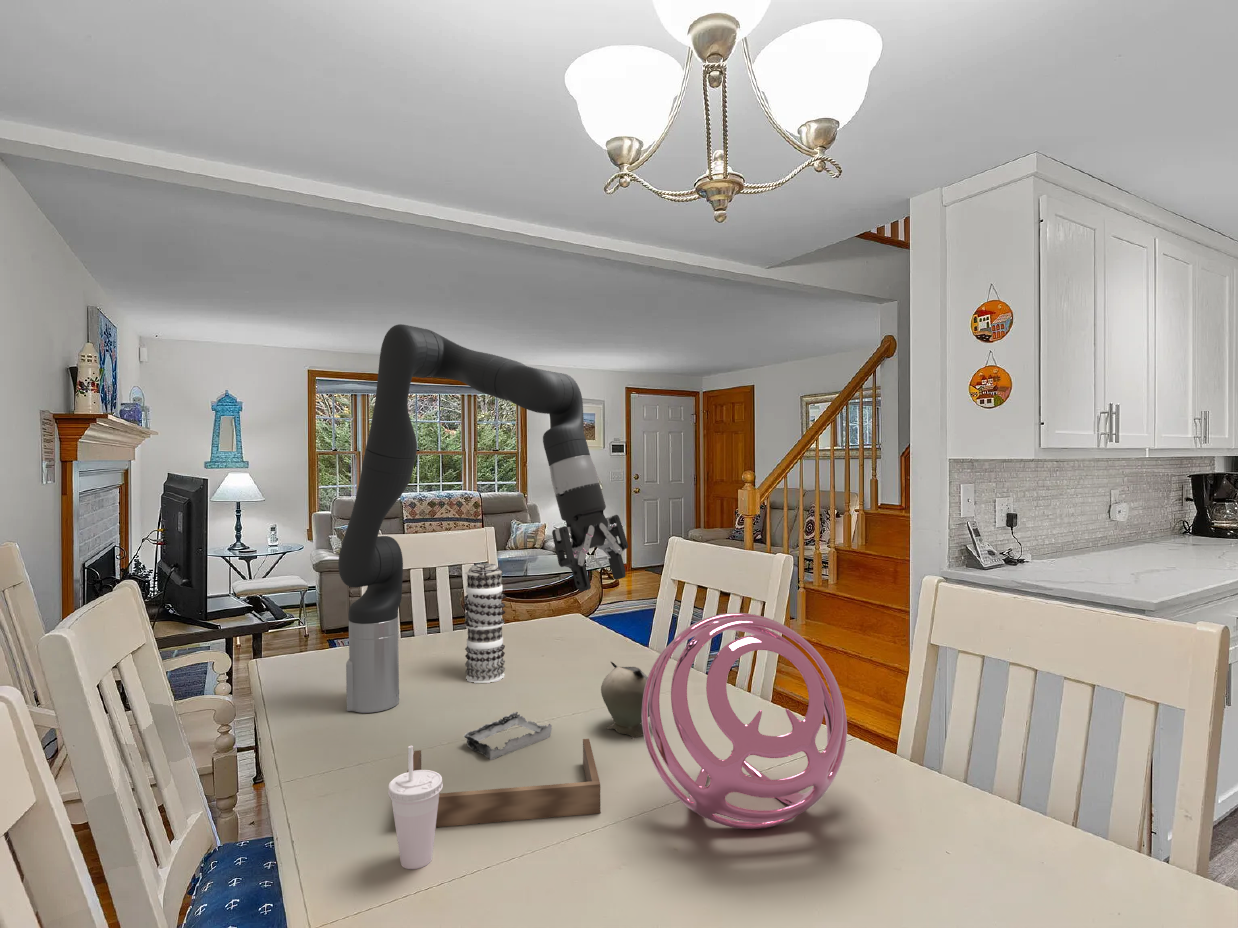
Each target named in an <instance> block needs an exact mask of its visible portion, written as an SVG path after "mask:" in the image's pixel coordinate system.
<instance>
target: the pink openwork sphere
mask: <svg viewBox="0 0 1238 928" xmlns="http://www.w3.org/2000/svg"><path fill="white" fill-rule="evenodd" d="M725 631H737V632H743V633H747V634H751V635H744V636H742V637H739V638H736V639H734V640H732V641H730V642H728V643H727V644H726V645H725V646H723V647H722V648H721V649H720V650H719V651H718V652H717V654H716V655H715V657H714V658H713V659H712V661H711V664H710V666H709V669H708V672H707V677H706V687H705V688H706V699H707V703H708V707H709V711H710V712H711V715H712V717H713V719H714V721H715V723H716V725H717V727H719V729H720V731H721V732H722V733H723V734H724V736H725V737H726V738H727V739H728V740H729V741H730V742H731V743H732V744H731V745H732V747H733V748H732V750H731V753H730V755H729V756H728V757H727V758H725V759H720V758H718V757H717V756H716V754H714V753H713V751H712V750H711V749H709V747H708V746H707V745H706V743H705V741H704V740H703V739H702V738H701V736H700V734H699V733H698V731H697V729H696V727H695V724H694V721H693V719H692V716H691V715H692V714H691V712H690V709H689V708H690V707H689V702H688V681H689V677H690V671H691V668H692V666H693V663H694V661H695V659H696V657H697V655H698V654H699V652H700V651H701V650H702V648H703V647H704V646H705V645H706V644H707V643H708V642H709V641H711V640H712V639H713V638H714V637H716V636H717V635H719V634H721V633H723V632H725ZM774 631H775V632H774ZM776 632H777V633H776ZM778 633H779V634H778ZM780 634H782V635H784V636H786V637H787V638H789V639H791V640H792V641H794V642H795V643H796V644H798V645H799V646H800V647H801V648H803V650H805V652H807V653H808V654H809V656H810V657H811V658H812V659H813V661H815V663H816V665H817V666H818V668H819V669H820V670H821V673H822V674H823V676H824V678H825V680H826V683H827V685H828V688H827V686H826V684H825V682H824V680H823V678H822V676H821V674H820V673H819V672H818V670H817V669H816V666H814V665H813V663H812V662H811V661H810V659H808V657H807V656H806V654H804V653H803V652H802V651H801V650H800V649H799V648H798V647H796V645H794V644H793V642H792V643H791V642H790V641H789V640H787V639H786V638H785V637H784V636H782V635H780ZM690 639H691V640H690ZM689 640H690V641H689ZM687 641H688V643H687V644H686V646H685V648H684V649H683V650H682V651H681V653H680V656H679V657H678V659H677V662H676V665H675V667H674V671H673V675H672V680H671V688H670V690H671V691H670V699H671V700H670V701H671V703H670V704H671V712H672V716H673V720H674V724H675V727H676V730H677V732H678V734H679V737H680V739H681V741H682V743H683V745H684V747H685V749H686V750H687V751H688V753H689V754H690V756H691V757H692V758H693V760H694V761H695V762H696V763H697V765H699V766H700V767H699V768H701V769H700V771H699V773H698V775H697V777H696V778H695V780H694V779H693V778H692V777H691V776H690V775H689V774H688V773H687V772H686V771H685V769H684V768H683V767H682V765H681V763H680V762H679V761H678V759H677V757H676V756H675V754H674V752H673V751H672V748H671V746H670V744H669V742H668V739H667V736H666V734H665V730H664V725H663V722H662V717H661V707H660V696H661V695H660V694H661V686H662V682H663V681H662V680H663V676H664V673H665V670H666V668H667V665H668V663H669V661H670V659H671V658H672V655H673V654H674V653H675V650H676V649H677V648H678V647H679V646H680V645H681V644H683V643H685V642H687ZM754 651H768V652H772V653H775V654H777V655H780V656H782V657H783V658H785V659H786V660H788V661H790V663H792V664H793V666H795V668H796V669H797V670H798V671H799V673H800V674H801V676H802V678H803V680H804V683H805V685H806V688H807V693H808V706H807V710H806V711H807V712H806V714H805V716H804V718H803V720H800V719H799V718H798V717H797V716H796V715H795V714H794V713H793V712H792V711H791V710H790V709H789V708H785V713H786V715H787V718H788V720H789V722H790V725H791V728H792V729H791V731H790V732H788V733H785V734H781V735H775V736H773V735H768V734H767V735H766V734H763V733H761V732H760V730H759V728H760V727H759V726H760V722H761V718H762V714H763V710H762V709H761V710H760V709H759V710H758V712H757V713H756V715H755V716H754V717H753V718H752V720H751V721H750V722H749V723H747V724H745V723H744V722H742V721H741V720H740V719H739V717H738V715H736V713H735V712H734V710H733V708H732V706H731V704H730V701H729V698H728V693H727V692H728V691H727V681H728V676H729V673H730V670H731V668H732V667H733V665H734V664H735V663H736V662H737V660H738V659H740V658H741V657H742V656H744V655H746V654H748V653H751V652H754ZM647 677H648V678H647V681H646V684H645V688H644V693H643V698H642V711H641V716H642V723H641V724H642V729H643V739H644V743H645V746H646V749H647V753H648V755H649V758H650V760H651V762H652V764H653V766H654V768H655V770H656V772H657V773H658V775H659V777H660V779H661V780H662V781H663V783H664V784H665V786H666V787H667V788H668V789H669V790H670V792H671V793H672V794H673V795H674V796H675V797H676V798H677V799H678V800H679V801H680V802H681V803H683V805H685V806H686V808H688V809H690V810H691V811H692V812H693V813H695V814H696V815H698V816H700V817H702V818H703V819H704V818H705V819H707V820H708V821H710V822H713V823H716V824H719V825H720V826H721V825H722V826H725V827H729V828H734V829H739V830H740V829H742V830H760V829H761V830H762V829H767V828H772V827H776V826H778V825H782V824H785V823H786V822H789V821H791V820H793V819H795V818H796V817H798V816H800V815H801V814H803V813H804V812H805V811H807V810H809V809H810V808H812V807H813V806H815V805H816V804H817V803H818V802H819V801H820V800H821V799H822V798H823V797H824V796H825V794H826V792H827V791H828V790H829V788H830V787H831V785H832V784H833V782H834V780H835V779H836V777H837V775H838V773H839V771H840V768H841V766H842V763H843V760H844V756H845V754H846V753H845V751H846V746H847V737H848V721H847V712H846V707H845V703H844V698H843V695H842V692H841V690H840V686H839V684H838V681H837V680H836V677H835V675H834V674H833V672H832V671H831V668H830V667H829V665H828V664H827V663H826V661H825V659H824V658H823V657H822V656H821V654H820V653H819V652H818V650H817V649H816V648H814V646H813V645H812V644H811V643H810V642H809V641H808V640H807V639H805V638H804V637H803V636H801V635H800V634H799V633H798V632H796V631H794V630H793V629H791V628H790V627H788V626H787V625H785V624H783V623H781V622H779V621H776V620H773V618H772V619H771V618H769V617H765V616H761V615H758V614H752V613H747V612H746V613H744V612H729V613H720V614H716V615H712V616H709V617H706V618H703V619H700V620H698V621H696V622H694V623H692V624H691V625H689V626H687V627H686V628H685V629H683V630H682V631H681V632H680V633H679V634H678V635H677V636H675V637H674V639H673V640H672V641H671V642H670V643H669V644H668V645H667V646H666V647H665V648H664V649H663V650H662V652H661V653H660V654H659V655H658V657H657V658H656V660H655V661H654V663H653V665H652V666H651V669H650V672H649V673H648V676H647ZM828 689H829V690H828ZM829 692H830V693H829ZM648 702H649V717H648ZM824 718H825V725H826V746H825V748H824V749H823V751H822V752H820V751H819V749H818V746H817V745H816V744H817V743H816V739H817V738H816V737H817V734H819V731H820V729H821V726H822V723H823V720H824ZM649 724H650V725H649ZM650 728H651V729H650ZM650 730H651V731H650ZM651 732H652V734H651ZM652 736H653V739H654V742H655V746H656V749H657V751H658V753H659V755H660V757H661V758H662V761H663V763H664V764H665V766H666V768H667V770H668V771H669V772H670V774H671V775H672V776H673V778H674V779H675V781H677V782H678V784H679V785H680V787H682V788H683V789H684V791H685V792H687V793H688V794H689V796H687V795H686V794H685V793H684V792H683V791H682V790H681V789H680V788H679V787H678V786H677V785H676V784H675V782H674V781H673V780H672V779H671V776H669V774H668V773H667V771H666V770H665V768H664V766H663V765H662V763H661V761H660V759H659V757H658V754H657V752H656V749H655V746H654V743H653V741H652V740H653V739H652ZM801 752H803V753H804V754H805V756H806V758H807V765H806V767H805V768H804V770H803V771H801V772H799V773H797V774H794V775H791V776H788V777H784V778H778V779H771V778H770V777H769V776H767V775H766V774H764V773H762V772H761V771H760V770H758V769H757V768H756V767H755V766H753V765H752V764H751V763H749V762H748V761H747V760H746V759H747V758H748V757H750V756H756V757H761V758H767V759H781V758H787V757H790V756H793V755H795V754H797V753H801ZM742 768H743V769H744V771H746V773H748V774H749V775H747V774H745V773H744V771H743V769H742ZM708 777H709V779H710V782H709V784H708V785H707V786H706V784H707V781H708ZM809 787H812V788H811V789H810V790H809V791H807V792H803V793H802V792H801V791H804V790H806V789H807V788H809ZM730 793H738V794H743V795H746V796H750V797H756V798H760V799H761V798H763V799H777V800H779V801H780V802H782V803H783V804H785V805H786V806H785V807H780V808H776V809H775V808H774V809H749V808H744V807H741V806H737V805H734V804H732V803H729V802H728V801H727V800H726V798H727V795H729V794H730Z"/></svg>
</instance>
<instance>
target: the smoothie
mask: <svg viewBox="0 0 1238 928" xmlns="http://www.w3.org/2000/svg"><path fill="white" fill-rule="evenodd" d="M407 751H408V752H407V753H408V754H407V755H408V757H407V758H408V760H407V761H408V763H407V765H408V768H407V771H409V772H403V773H401V774H399V775H397V776H395V777H394V778H393V779H392V780H391V781H390V782H389V783H388V792H387V795H388V797H389V798H390V799H391V805H392V811H393V820H394V825H395V827H394V828H395V833H396V841H397V847H398V854H399V860H400V865H401V867H403V869H406V870H419V869H421V868H424V867H425V866H428V865H429V864H430V863H431V862H432V859H433V853H434V846H435V845H434V844H435V837H436V835H435V834H436V828H437V827H436V819H437V810H438V802H439V793H440V792H441V791H442V790H443V787H444V786H443V777H442V775H441V774H440V773H438V772H436V771H434V770H429V769H422V770H415V771H413V754H414V746H413V745H409V746H407Z"/></svg>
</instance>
